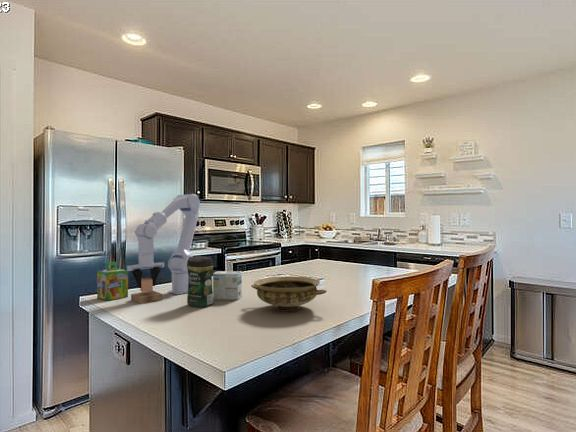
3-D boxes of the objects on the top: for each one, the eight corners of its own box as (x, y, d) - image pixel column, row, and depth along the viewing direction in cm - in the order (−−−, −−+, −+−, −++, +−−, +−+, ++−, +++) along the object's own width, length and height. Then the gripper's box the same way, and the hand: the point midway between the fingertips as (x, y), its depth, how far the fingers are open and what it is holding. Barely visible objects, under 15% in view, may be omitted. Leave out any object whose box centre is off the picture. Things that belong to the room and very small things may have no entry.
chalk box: (107, 301, 146) (106, 264, 146) (96, 298, 152) (95, 263, 152) (129, 297, 154) (128, 262, 154) (117, 294, 159) (117, 260, 159)
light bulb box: (242, 296, 153) (242, 270, 153) (238, 300, 146) (238, 273, 146) (217, 296, 154) (217, 270, 154) (212, 299, 147) (212, 273, 147)
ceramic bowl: (338, 305, 135) (337, 279, 135) (310, 323, 114) (310, 291, 114) (269, 297, 150) (268, 273, 150) (233, 311, 129) (233, 283, 129)
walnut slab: (152, 297, 154) (152, 290, 154) (162, 301, 148) (162, 293, 147) (131, 301, 148) (131, 293, 148) (139, 305, 141) (139, 297, 141)
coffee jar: (183, 305, 138) (182, 256, 138) (198, 301, 145) (198, 254, 145) (201, 308, 133) (201, 258, 133) (217, 304, 140) (216, 255, 140)
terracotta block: (151, 288, 150) (151, 278, 150) (152, 290, 147) (152, 279, 147) (140, 290, 148) (140, 279, 148) (141, 291, 145) (141, 280, 145)
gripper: (158, 251, 156) (159, 283, 156) (123, 254, 145) (124, 288, 145) (166, 252, 150) (166, 285, 150) (130, 255, 140) (131, 290, 140)
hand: (146, 286), depth 148 cm, fingers closed on terracotta block, 5 cm apart
